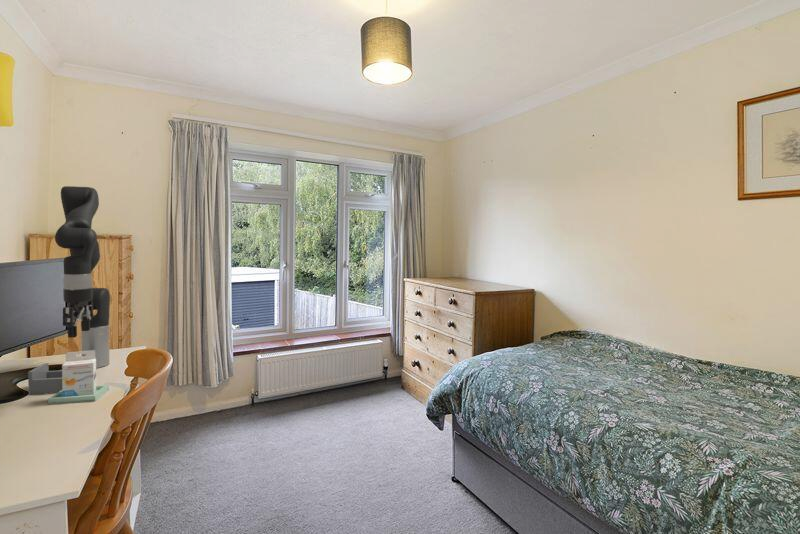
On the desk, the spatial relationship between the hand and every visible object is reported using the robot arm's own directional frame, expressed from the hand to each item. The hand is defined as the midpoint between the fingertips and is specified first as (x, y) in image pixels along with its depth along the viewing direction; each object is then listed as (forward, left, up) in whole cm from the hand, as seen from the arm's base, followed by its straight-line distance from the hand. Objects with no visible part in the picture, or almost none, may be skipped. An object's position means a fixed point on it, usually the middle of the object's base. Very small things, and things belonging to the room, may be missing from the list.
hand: (79, 334), depth 129 cm
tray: (0, 0, -22) cm, 22 cm away
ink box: (0, 0, -22) cm, 22 cm away
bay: (-10, -11, -22) cm, 27 cm away
